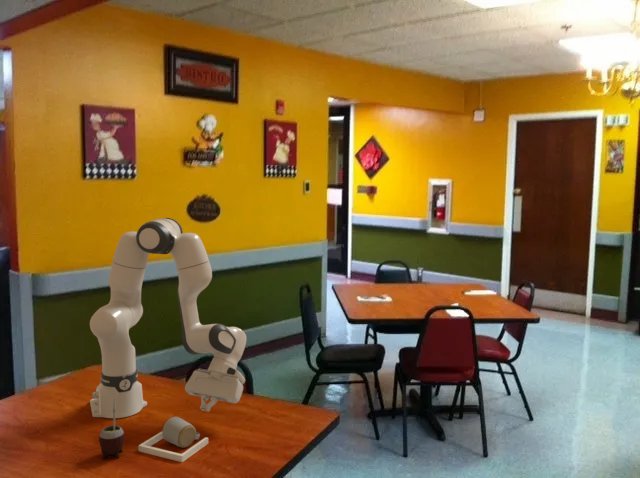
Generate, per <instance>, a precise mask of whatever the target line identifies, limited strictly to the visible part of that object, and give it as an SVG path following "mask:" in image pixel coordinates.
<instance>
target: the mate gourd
mask: <svg viewBox="0 0 640 478" xmlns="http://www.w3.org/2000/svg"><path fill="white" fill-rule="evenodd" d="M115 405H116V399H114V406H113V418H112V425H110V426H106V427H104V428H103V429H102V430H101V431H100V433H99V437H98V442H99V443H98V444H99V446H100V450H101V454H102V457H101V458H102V460H106V459H108V458H111V457H112V458H114V459H116V460H117V459H120V456H119V454H120V453H123V446H124V444H125V440H126V439H125V438H126V436H125V432H124V429H123V428H122V427H121V426H119V425H116V418H115V412H116V409H115Z"/></svg>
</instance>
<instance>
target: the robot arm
mask: <svg viewBox="0 0 640 478" xmlns="http://www.w3.org/2000/svg"><path fill="white" fill-rule="evenodd" d="M150 254H152V255H153V254H154V255H168V254H170V256H171V257H172V258H173V260H174V262H175V263H174V264H175V267H176V271H177V277H178V286H177V301H178V309H179V315H180V321H181V327H182V329H181V330H182V332H181V333H182V337H181V342H182V345H183V348H184V350H185V351H186V352H187V353H189V354H190V355H193V356H196V355H203V354H212V355H213V358H211V359H212V360H211V362H210V364H209V367H207V369H204V368H198V369H195V370H193V372H192V374H191V376H190V377H189V379H188V380H187V382H186V384H185V386H184V390H185V392H186V393H187V394H188V395H191V396H196V397H199V398H200V401H201V403H200V404H201V405H200V407H199V409H200V410H201V411H203V412H210V411H211V409H212V407H214V406H215V405H216V404H217V402H218V401H221V402H226V403H231V404H237V403H238V402H239V401H240V400H241V398H242V395H243V391H244V384H245V382H246V378H245V377H244V376H243V374H242V373H241V372H240V371H239V370H238V369H237V367H238V363H239V361H240V360H241V358H242V356H243V355H244V351H245V348H246V345H247V334H246V333H245V331H244V330H242V329H241V328H239V327H237V326H226V325H224V324H221V323H211V324H202V323H201V322H200V318H199V317H200V316H199V312H198V311H199V310H198V305H197V299H198V297H199V295H200V294H201V292H202V291H204V290H205V289H206V288H207V287H208V286H209V284H210V283H211V282H212V280H213V279H212V278H213V270H212V265H211V261H210V260H209V256H208V253H207V251H206V247H205V245H204V243H203V241H202V239H201V237H200V236H199V234H198V233H194V232H183V228H182V226H181V223H179V222H178V221H177V220H176V219H173V218H169V217H163V218H161V217H160V218H156V219H153V220H151V221H147V222H145V223H143V224H142V225H141V226H140V227H139V228H138V230H137V231H127V232H124V233H123V234H122V235H121V236H120V239H119V240H118V242H117V246H116V248H115V251H114V255H113V258H112V262H111V268H110V272H109V277H108V282H107V283H108V286H109V288H110V300H109V302H108V304H105V305H103V306H101V307H99V308H98V309H97V310H96V311H95V312H94V313H93V315H92V316H91V318H90V320H89V328H90V331H91V332H92V334H93V336H95V337H96V338H97V341H98V343H99V346H100V354H101V366H102V367H101V368H102V371H101V374H100V383H99V384H98V386H97V387H96V388H95V389H96V390H95V391H94V392H92V393H91V398H92V399H90V400H89V405H90V406H89V407H90V411H91V415H92V417H93V418H105V419H113V406H114V399H116V405H115V409H116V412H115V419H120V418H121V419H122V418H127V417H131V416H133V415H136V414H138V413H139V412H140V411H142V409H143V408H145V407H147V406H148V402H147V401H146V400H144V398H143V397H144V396H143V395H144V394H143V385H142V383H141V382H140V381H138V375H139V374H138V369H137V364H136V363H137V362H136V347H135V346H134V345H133V344H132V342H131V337H130V335H129V334H130V333H129V332H130V331H129V330H130V329H131V328H133V327H134V326H136V325H137V323H138V322H139V321H140V319H141V318H142V317H143V315H144V307H143V304H142V287H143V283H144V282H143V281H144V277H145V273H146V269H147V264H148V259H149V256H150ZM209 399H210V400H209ZM208 400H209V402H208V403H207V401H208Z"/></svg>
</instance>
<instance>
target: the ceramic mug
mask: <svg viewBox="0 0 640 478" xmlns="http://www.w3.org/2000/svg"><path fill="white" fill-rule="evenodd" d="M161 432H162V434H163V439H164V440H165V441H166V442H168V443H170V444H172V445H175V446H177V447H178V448H185V449H186V448H188V447H189V446H191V445H192V444H193V443H194V441H195V440H199V439H200V437H201V434H200V432H198V431H197V430H196V428H195V426H194V425H192V424H191V423H190V422H189V421H186V420H185V419H183V418H181V417H180V416H173V417H170V418H169V419H167V420H166V422H165V423H164V425H163V427H162V431H161Z"/></svg>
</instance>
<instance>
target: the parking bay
mask: <svg viewBox="0 0 640 478" xmlns="http://www.w3.org/2000/svg"><path fill="white" fill-rule="evenodd" d="M163 439H164V438H163V434H162V431H160V432H158V433H157V434H155V435H153V436H152V437H150V438H148V439H147V440H145V441H144V442H142V443H140V444H139V445H138V448H137V449H138V452H141V453H144V454H148V455H152V456H157V457H160V458H163V459H168V460H172V461H176V462H179V463H180V462H181V463H184V462H185V461H186V460H187V459H189V458H190V457H192V456H193V455H194V454H196V453H197V452H199V451H200V450H201V449H203V448H205V446H207V445H208V444H209V437H204V438H203V439H201V440H199V441H198V442H196V443H195V444H194V445H192V446H191V447H190V448H188V449H186V450H185V451H183V452H182V453H178V452H174V451H172V450H171V451H170V450H167V449H163V448H159V447H154V446H153V445H155V444H156V443H158V442H159V441H161V440H163Z"/></svg>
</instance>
